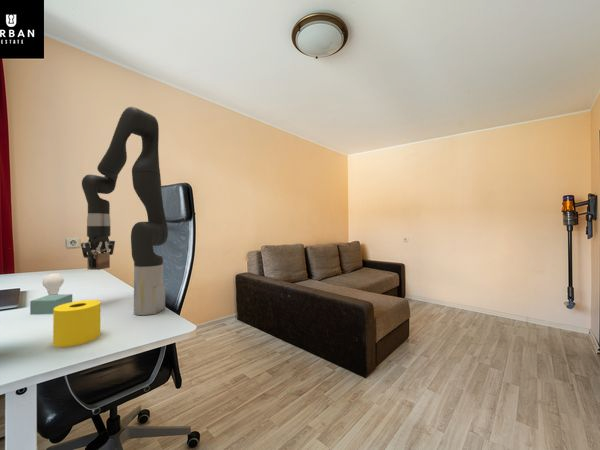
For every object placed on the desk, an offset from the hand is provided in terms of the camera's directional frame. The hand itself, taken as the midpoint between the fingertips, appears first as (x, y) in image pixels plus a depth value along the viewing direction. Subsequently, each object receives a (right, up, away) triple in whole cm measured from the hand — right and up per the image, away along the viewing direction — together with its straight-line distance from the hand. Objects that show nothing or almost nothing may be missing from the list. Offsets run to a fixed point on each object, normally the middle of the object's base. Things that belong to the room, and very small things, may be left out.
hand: (99, 266), depth 103 cm
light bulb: (-24, -15, +6) cm, 29 cm away
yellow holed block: (+19, -15, -31) cm, 40 cm away
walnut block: (0, -1, 0) cm, 1 cm away
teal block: (-11, -15, -8) cm, 20 cm away
